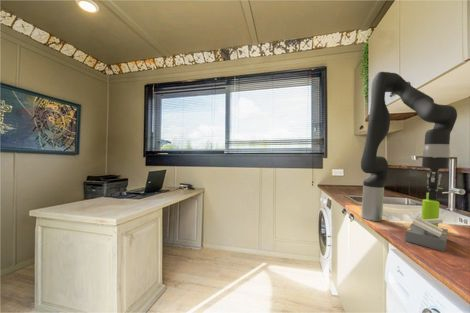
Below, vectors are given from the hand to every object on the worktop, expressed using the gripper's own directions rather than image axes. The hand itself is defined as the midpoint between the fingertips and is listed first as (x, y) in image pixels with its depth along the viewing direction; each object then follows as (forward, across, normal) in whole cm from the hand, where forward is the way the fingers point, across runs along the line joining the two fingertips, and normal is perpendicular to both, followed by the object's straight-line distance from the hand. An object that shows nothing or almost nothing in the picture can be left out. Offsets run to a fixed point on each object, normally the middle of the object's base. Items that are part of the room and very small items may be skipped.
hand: (432, 199), depth 81 cm
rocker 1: (+11, -2, -1) cm, 11 cm away
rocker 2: (+11, +4, -1) cm, 12 cm away
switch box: (+17, -2, -1) cm, 17 cm away
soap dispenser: (+17, -22, -1) cm, 28 cm away
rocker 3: (+11, -8, -1) cm, 13 cm away
